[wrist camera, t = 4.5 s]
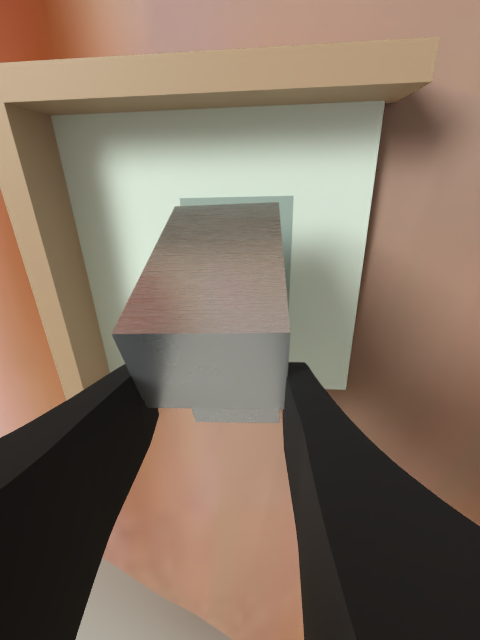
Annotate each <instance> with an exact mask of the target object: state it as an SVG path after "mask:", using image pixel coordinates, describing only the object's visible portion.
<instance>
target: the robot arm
mask: <svg viewBox="0 0 480 640" xmlns="http://www.w3.org/2000/svg"><path fill="white" fill-rule="evenodd" d="M158 416H159V412H158V408H146V406H145V404H144V401H143V399H142V397H141V395H140V393H139V391H138V389H137V387H136V385H135V383H134V381H133V379H132V377H131V374H130V372H129V370H128V368H127V366H126V364H124V365H122V366H120V367H119V368H117V369H115V370H114V371H112V372H111V373H109V374H107V375H106V376H104V377H103V378H101V379H100V380H98V381H97V382H95V383H94V384H92V385H90V386H89V387H87V388H86V389H84V390H83V391H81V392H79V393H78V394H76V395H75V396H73V397H72V398H70V399H68V400H67V401H65V402H63V403H62V404H60V405H58V406H57V407H55V408H53V409H52V410H50V411H48V412H47V413H45V414H43V415H42V416H40V417H38V418H36V419H35V420H33V421H31V422H29V423H28V424H26V425H24V426H22V427H20V428H19V429H17V430H15V431H13V432H11V433H9V434H7V435H5V436H3V437H1V438H0V640H75V639H76V636H77V632H78V629H79V626H80V623H81V620H82V616H83V614H84V610H85V607H86V604H87V601H88V598H89V595H90V592H91V589H92V586H93V583H94V579H95V577H96V574H97V571H98V568H99V565H100V562H101V559H102V557H103V554H104V551H105V548H106V545H107V542H108V539H109V537H110V534H111V532H112V529H113V527H114V524H115V522H116V519H117V517H118V515H119V513H120V511H121V508H122V506H123V504H124V502H125V500H126V497H127V495H128V493H129V491H130V489H131V486H132V484H133V482H134V480H135V478H136V475H137V473H138V471H139V469H140V466H141V464H142V462H143V460H144V457H145V455H146V453H147V451H148V448H149V446H150V443H151V440H152V437H153V434H154V430H155V427H156V423H157V420H158ZM283 436H284V451H285V458H286V465H287V472H288V478H289V485H290V491H291V498H292V504H293V511H294V518H295V524H296V532H297V540H298V550H299V565H300V579H301V594H302V609H303V625H304V640H480V526H478V525H477V524H475V523H474V522H472V521H471V520H469V519H468V518H466V517H465V516H464V515H462V514H461V513H459V512H458V511H457V510H455V509H454V508H452V507H451V506H450V505H448V504H447V503H446V502H444V501H443V500H441V499H440V498H439V497H437V496H436V495H435V494H434V493H432V492H431V491H430V490H428V489H427V488H426V487H425V486H423V485H422V484H421V483H419V482H418V481H417V480H416V479H414V478H413V477H412V476H410V475H409V474H408V473H407V472H405V471H404V470H403V469H402V468H401V467H399V466H398V465H397V464H396V463H395V462H393V461H392V460H391V459H390V458H389V457H388V456H387V455H386V454H385V453H383V452H382V451H381V450H380V449H379V448H378V447H377V446H376V445H375V444H374V443H373V442H372V441H371V440H370V439H369V438H368V437H367V436H366V435H365V434H364V433H363V432H362V431H361V430H360V429H359V428H358V427H357V426H356V425H355V424H354V423H353V422H352V421H351V420H350V419H349V418H348V416H347V415H346V414H345V413H344V412H343V411H342V410H341V408H340V407H339V406H338V405H337V404H336V402H335V401H334V400H333V399H332V398H331V396H330V395H329V394H328V393H327V391H326V390H325V389H324V388H323V386H322V385H321V384H320V382H319V381H318V379H317V378H316V377H315V375H314V374H313V372H312V371H311V369H310V368H309V366H308V365H307V364H306V363H305V362H289V364H288V377H286V387H285V404H284V409H283Z"/></svg>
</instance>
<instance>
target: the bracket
mask: <svg viewBox="0 0 480 640" xmlns="http://www.w3.org/2000/svg"><path fill="white" fill-rule="evenodd" d="M111 335H112V337H113V339H114V341H115V343H116V345H117V347H118V349H119V351H120V353H121V356H122V358H123V360H124V362H125V364H126V366H127V368H128V370H129V372H130V374H131V377H132V379H133V381H134V383H135V385H136V387H137V389H138V391H139V393H140V395H141V397H142V399H143V401H144V404H145V406H146V408H192V411H193V415H194V418H195V421H196V422H239V423H279V409H284V404H285V387H286V377H288V364H289V346H290V324H289V312H288V301H287V290H286V278H285V267H284V256H283V244H282V233H281V222H280V210H279V202H267V203H244V204H220V205H197V206H175V207H174V209H173V211H172V213H171V215H170V217H169V219H168V221H167V223H166V225H165V227H164V229H163V231H162V233H161V235H160V237H159V239H158V241H157V243H156V245H155V247H154V249H153V251H152V253H151V255H150V257H149V259H148V261H147V263H146V265H145V267H144V269H143V271H142V273H141V275H140V277H139V279H138V281H137V283H136V285H135V287H134V289H133V291H132V293H131V296H130V298H129V300H128V302H127V304H126V306H125V308H124V310H123V312H122V314H121V316H120V318H119V320H118V322H117V324H116V326H115V328H114V330H113V332H112V334H111Z"/></svg>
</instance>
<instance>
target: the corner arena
mask: <svg viewBox="0 0 480 640" xmlns="http://www.w3.org/2000/svg"><path fill="white" fill-rule="evenodd" d="M439 41H440V37H427V38H410V39H393V40H376V41H360V42H343V43H326V44H309V45H292V46H276V47H259V48H242V49H225V50H209V51H192V52H175V53H158V54H141V55H125V56H108V57H91V58H74V59H57V60H41V61H24V62H7V63H0V188H1V192H2V195H3V198H4V201H5V204H6V208H7V211H8V214H9V217H10V221H11V224H12V227H13V230H14V233H15V237H16V240H17V243H18V246H19V250H20V253H21V256H22V259H23V262H24V266H25V269H26V272H27V275H28V279H29V282H30V285H31V288H32V291H33V295H34V298H35V301H36V304H37V308H38V311H39V314H40V317H41V321H42V324H43V327H44V330H45V333H46V337H47V340H48V343H49V346H50V350H51V353H52V356H53V359H54V362H55V366H56V369H57V372H58V375H59V379H60V382H61V385H62V388H63V391H64V395H65V398H66V401H67V400H68V399H70V398H72V397H73V396H75V395H76V394H78V393H79V392H81V391H83V390H84V389H86V388H87V387H89V386H90V385H92V384H94V383H95V382H97V381H98V380H100V379H101V378H103V377H104V376H106V375H107V374H109V373H111V372H112V371H114V370H115V369H117V368H119V367H120V366H122V365H124V364H125V362H124V360H123V358H122V356H121V353H120V351H119V349H118V347H117V345H116V343H115V341H114V339H113V337H112V335H111V334H112V332H113V330H114V328H115V326H116V324H117V322H118V320H119V318H120V316H121V314H122V312H123V310H124V308H125V306H126V304H127V302H128V300H129V298H130V296H131V293H132V291H133V289H134V287H135V285H136V283H137V281H138V279H139V277H140V275H141V273H142V271H143V269H144V267H145V265H146V263H147V261H148V259H149V257H150V255H151V253H152V251H153V249H154V247H155V245H156V243H157V241H158V239H159V237H160V235H161V233H162V231H163V229H164V227H165V225H166V223H167V221H168V219H169V217H170V215H171V213H172V211H173V209H174V207H175V206H197V205H220V204H244V203H267V202H279V210H280V222H281V233H282V244H283V256H284V267H285V278H286V290H287V301H288V312H289V324H290V346H289V362H305V363H306V364H307V365H308V366H309V368H310V369H311V371H312V372H313V374H314V375H315V377H316V378H317V379H318V381H319V382H320V384H321V385H322V386H323V388H324V389H339V390H346V384H347V377H348V370H349V362H350V355H351V348H352V340H353V333H354V326H355V318H356V311H357V304H358V296H359V289H360V282H361V274H362V267H363V260H364V252H365V245H366V238H367V230H368V223H369V216H370V208H371V201H372V194H373V186H374V179H375V172H376V164H377V157H378V150H379V142H380V135H381V128H382V120H383V113H384V106H385V103H395V102H397V101H399V100H401V99H402V98H404V97H406V96H408V95H409V94H411V93H413V92H415V91H416V90H418V89H420V88H422V87H423V86H425V85H427V84H429V83H430V82H432V79H433V74H434V68H435V63H436V58H437V52H438V47H439Z"/></svg>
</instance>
